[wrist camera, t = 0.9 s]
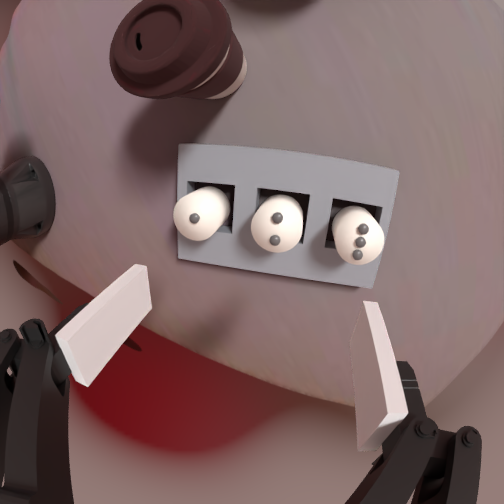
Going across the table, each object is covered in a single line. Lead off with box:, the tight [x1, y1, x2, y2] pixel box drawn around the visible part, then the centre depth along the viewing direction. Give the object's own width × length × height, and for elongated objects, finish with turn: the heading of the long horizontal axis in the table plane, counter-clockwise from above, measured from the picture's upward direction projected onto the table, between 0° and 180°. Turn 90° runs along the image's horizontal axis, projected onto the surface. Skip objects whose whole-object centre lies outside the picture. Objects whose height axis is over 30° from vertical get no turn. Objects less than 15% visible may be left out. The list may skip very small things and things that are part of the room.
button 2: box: [251, 194, 303, 253], centre depth 28 cm, size 5×5×5 cm
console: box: [177, 143, 400, 288], centre depth 31 cm, size 24×14×2 cm, turn 85°
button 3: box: [332, 206, 384, 265], centre depth 27 cm, size 5×5×5 cm
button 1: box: [173, 186, 230, 241], centre depth 29 cm, size 5×5×5 cm
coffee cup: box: [109, 0, 247, 99], centre depth 20 cm, size 10×10×15 cm
